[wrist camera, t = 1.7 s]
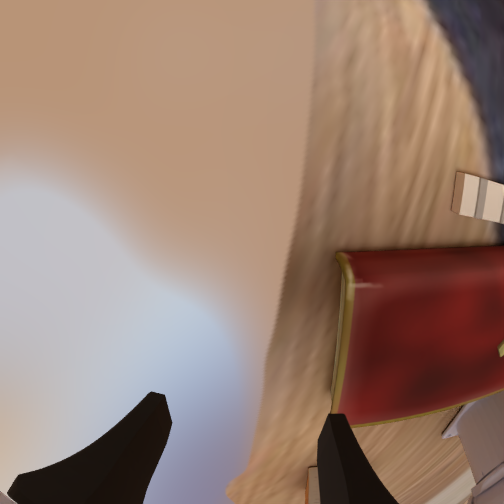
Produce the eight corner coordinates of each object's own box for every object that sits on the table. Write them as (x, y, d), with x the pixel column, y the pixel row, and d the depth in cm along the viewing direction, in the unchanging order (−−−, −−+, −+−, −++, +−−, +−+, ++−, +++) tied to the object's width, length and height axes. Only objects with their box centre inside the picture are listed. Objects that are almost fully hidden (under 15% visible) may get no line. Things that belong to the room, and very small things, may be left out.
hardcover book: (334, 246, 16) (348, 278, 12) (552, 239, 13) (582, 256, 9) (324, 391, 20) (328, 433, 16) (516, 353, 17) (535, 378, 13)
